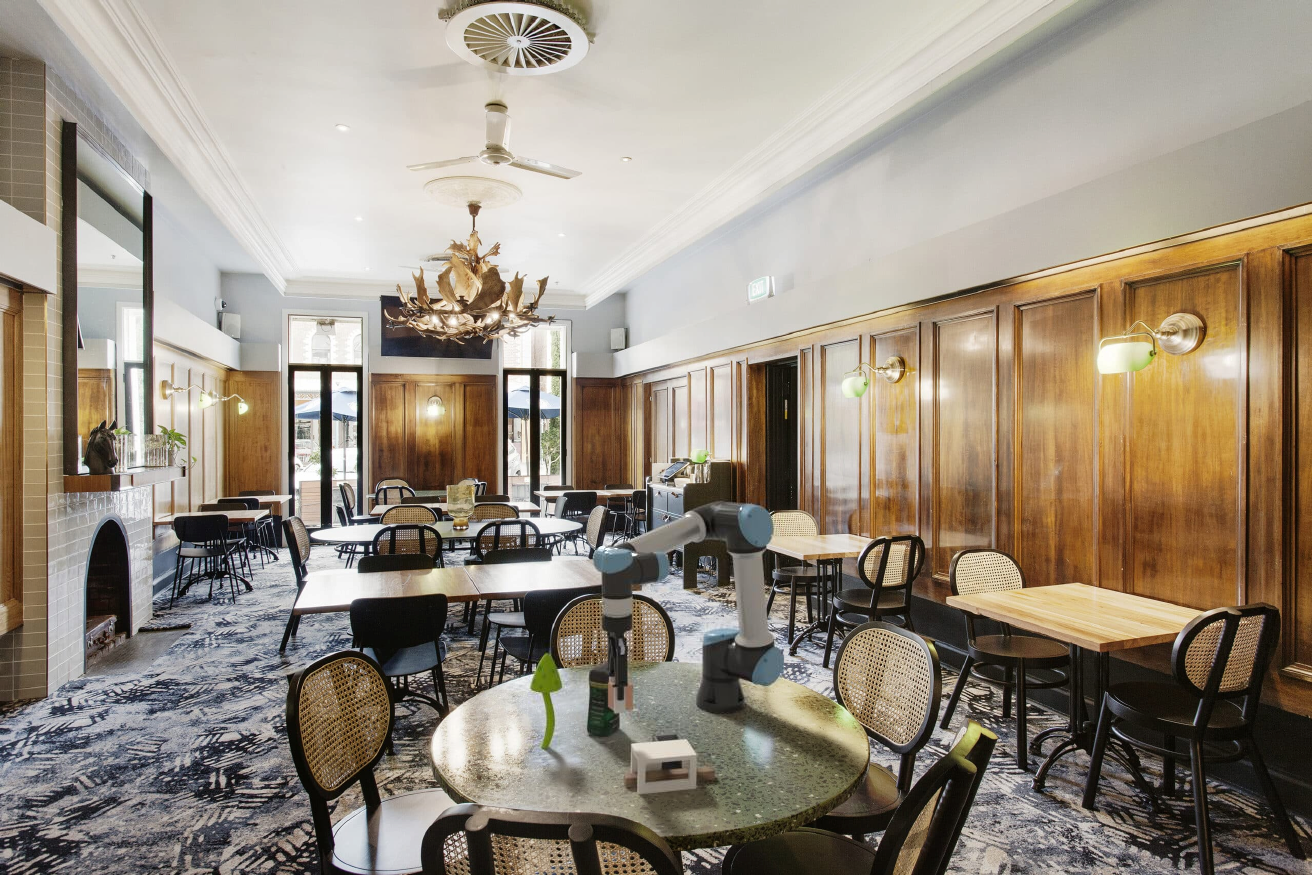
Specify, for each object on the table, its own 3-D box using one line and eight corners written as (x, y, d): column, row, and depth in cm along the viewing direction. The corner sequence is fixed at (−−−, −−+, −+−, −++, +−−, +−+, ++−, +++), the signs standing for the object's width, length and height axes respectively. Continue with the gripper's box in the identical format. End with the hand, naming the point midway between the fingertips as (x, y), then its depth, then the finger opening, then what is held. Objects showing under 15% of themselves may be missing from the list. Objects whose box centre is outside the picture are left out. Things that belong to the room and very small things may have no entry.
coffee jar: (607, 740, 193) (608, 672, 193) (582, 734, 196) (584, 667, 196) (624, 727, 202) (625, 662, 202) (600, 722, 205) (601, 658, 205)
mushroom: (532, 739, 192) (534, 647, 192) (563, 740, 192) (565, 648, 192) (525, 753, 184) (527, 657, 184) (557, 754, 184) (560, 658, 184)
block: (624, 702, 177) (624, 679, 177) (632, 708, 173) (632, 684, 173) (608, 706, 175) (608, 682, 175) (616, 712, 171) (616, 688, 171)
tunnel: (679, 760, 182) (679, 729, 182) (696, 788, 167) (696, 754, 167) (625, 764, 179) (626, 733, 179) (638, 794, 164) (639, 759, 164)
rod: (711, 776, 174) (711, 765, 175) (714, 780, 172) (714, 770, 172) (623, 783, 170) (623, 773, 170) (625, 788, 167) (625, 778, 167)
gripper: (595, 605, 181) (595, 695, 182) (609, 624, 164) (609, 724, 164) (624, 603, 183) (624, 692, 184) (640, 622, 166) (640, 720, 166)
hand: (617, 707), depth 174 cm, fingers closed on block, 5 cm apart
